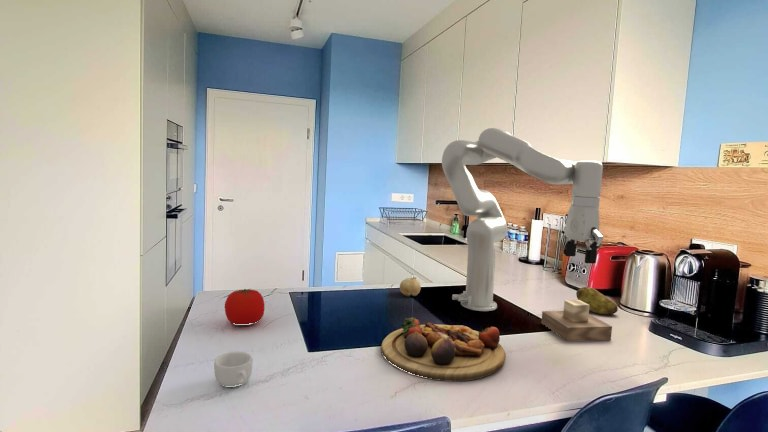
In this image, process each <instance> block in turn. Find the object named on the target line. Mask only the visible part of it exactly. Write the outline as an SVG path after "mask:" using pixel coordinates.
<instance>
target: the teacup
mask: <svg viewBox="0 0 768 432" xmlns="http://www.w3.org/2000/svg"><path fill="white" fill-rule="evenodd" d="M213 365H214V366H213V367H214V376H215V379H216V382H217V383H218V385H220V384H221V385H224V386H235V385H239V384H243V385H245V384H246V383H247V382H246V381H247V380H249V379H250V377H251V375H252V373H253V372H252V370H253V356H252V355H251V354H250V353H248V352H245V351H229V352H225V353H223V354H220V355H218V356H217V357H216V358H215V359H214V364H213ZM221 385H220V386H221Z"/></svg>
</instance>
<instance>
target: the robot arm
mask: <svg viewBox="0 0 768 432" xmlns="http://www.w3.org/2000/svg"><path fill="white" fill-rule="evenodd" d="M496 158H497V159H500V160H502V161H504V162H507V163H508V164H510V165H513V166H514V167H516V168H517V169H519V170H521V171H523V172H524V173H526V174H528V176H531V177H533V178H536V179H538V180H540V181H542V182H544V183H547V184H550V185H572V189H571V190H572V191H571V202H570V206H569V209H568V212H567V216H566V221H565V227H563V232H564V238H565V241H564V242H565V250H564V252H565V254H564V256H565V257H576V252H577V242H580V243H584V244H585V246H586V249H585V254H584V263H585V264H596V263H597V253H598V251H599V249H600V247H601V246H602V243H603V240H604V236H603V235H602V234H601V233H600V209H599V208H600V200H601V199H600V197H601V190H602V189H601V188H602V180H603V171H604V170H603V169H604V165H603V163H602V162H601V161H597V160H579V161H578V160H577V161H573V160H567V159H560V158H556V157H554V156H551V155H549V154H546V153H543V152H542V151H539V150H537V149H536V148H534V147H532V145H531V143H529V142H528V141H526V140H524V139H522V138H519V137H516V136H514V135H512V134H511V133H510V132H509V131H507V130H504V129H500V128H495V127H489V128H487V129H484V130H482V132H481V133H480V134H479V137H478V140H477V141H471V140H464V139H463V140H462V139H458V140H454V141H451V142H450V143H449V144H448V145H447V146H446V147H445V149H444V151H443V153H442V157H441V167H442V171H443V173H444V175H445V178H446V179H447V182H448V183H449V185H450V188H451V191H452V193H453V196H454V198H455V200H456V202H457V205H458V207H459V210H460V212H461V213H462V214H463V215H465V216H466V217H476V218H475V219H474V220H472V221H471V222H470V223H469V224H468V226H467V229H466V243H467V260H466V261H467V266H466V281H465V282H466V284H465V290H463V291H462V293H460V294H452V296H451V299H452V300H453V301H458V302H460V305H461V306H462V307H464V308H466V309H468V310H471V311H479V312H489V311H490V312H491V311H495V310H496V309H498V304H497V302H496V301H494V287H495V271H496V251H495V243H498V242H501V241H503V240H504V239H505V238H506V236H507V234H508V230H509V229H508V224H507V221H506V219H505V217H504V213H503V212H502V210H501V208H500V206H499V203H498V201H497V199H496V197H495V196H494V195H493V194H492V192H490V191H488V190H486V189H479V188H478V185H477V184H476V181H475V180H474V177H473V175H472V174H471V172H470V171H469V170H468V168H467V166H478V165H480V164H484V163H486V162H489V161H492V160H494V159H496Z"/></svg>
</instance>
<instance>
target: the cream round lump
mask: <svg viewBox="0 0 768 432" xmlns="http://www.w3.org/2000/svg"><path fill="white" fill-rule="evenodd" d="M421 287H422V286H421V284H420V282H419V280H417V277H416V276H415V277H414V276H412V277H410V278H409V277H408V278H405V279H403V280H402V281H401V282H400V284H399V291H400V293H401V295H403V296H406V297H411V296H413V297H416V296H418V294H420V291H421V289H422V288H421Z"/></svg>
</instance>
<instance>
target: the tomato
mask: <svg viewBox="0 0 768 432" xmlns="http://www.w3.org/2000/svg"><path fill="white" fill-rule="evenodd" d="M224 301H225V302H224V313H225V317H226V318H227V319H226V320H228V321H230V322H231V323H230V322H229V323H230V324H232V323H235V324H249V323H255V322H257V321H258V322H260V321H261V320H260V319H262V318H263V316H264V314H265V300H264V298H263V294H262V293H261V292H259V291H258V290H255V289H251V288H248V289H246V288H244V289H237V290H234V291H232V292H231V293H230V294H229V295H228V296H227V298H226V300H224ZM259 320H260V321H259ZM258 322H257V323H258ZM255 324H256V323H255Z"/></svg>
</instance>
